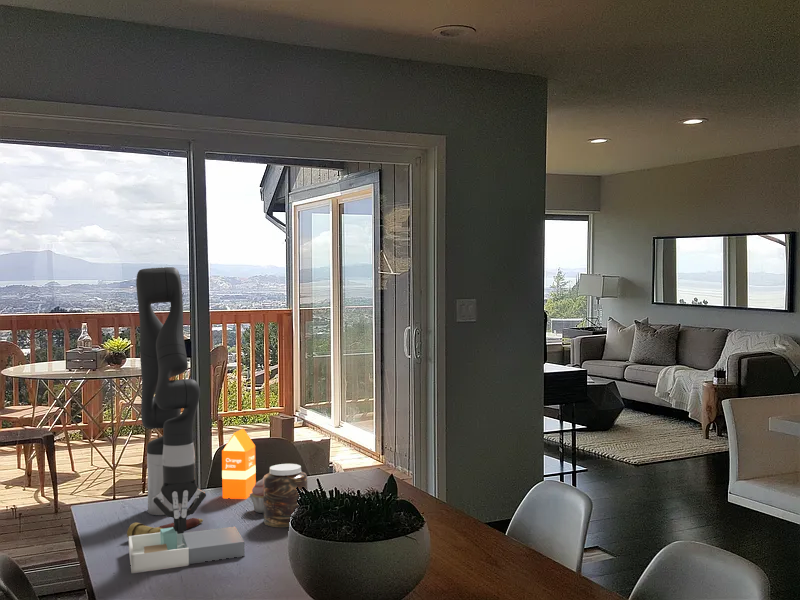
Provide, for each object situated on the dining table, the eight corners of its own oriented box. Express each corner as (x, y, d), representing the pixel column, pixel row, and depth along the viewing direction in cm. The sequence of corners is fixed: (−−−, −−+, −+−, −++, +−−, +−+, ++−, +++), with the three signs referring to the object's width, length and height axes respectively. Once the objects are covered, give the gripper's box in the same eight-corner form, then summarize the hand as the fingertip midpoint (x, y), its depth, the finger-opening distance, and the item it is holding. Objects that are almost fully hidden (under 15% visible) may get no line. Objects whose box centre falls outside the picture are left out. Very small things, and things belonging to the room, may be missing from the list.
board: (182, 546, 190) (182, 532, 190) (235, 540, 195) (235, 526, 195) (188, 564, 178) (188, 549, 178) (244, 556, 183) (244, 541, 183)
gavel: (189, 509, 213) (215, 514, 207) (189, 526, 212) (215, 531, 207) (126, 524, 195) (153, 530, 190) (126, 542, 195) (152, 549, 189)
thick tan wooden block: (166, 543, 181) (166, 556, 181) (144, 546, 180) (144, 559, 180) (167, 550, 177) (167, 563, 177) (144, 553, 175) (145, 566, 175)
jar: (290, 512, 218) (290, 460, 218) (316, 521, 210) (315, 466, 210) (255, 521, 210) (255, 467, 210) (280, 531, 202) (280, 474, 202)
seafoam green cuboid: (173, 547, 188) (161, 549, 186) (173, 527, 188) (160, 529, 186) (177, 553, 183) (164, 555, 182) (176, 532, 183) (163, 535, 182)
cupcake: (265, 504, 228) (265, 470, 228) (288, 509, 222) (288, 474, 222) (242, 511, 220) (241, 476, 220) (265, 517, 215) (264, 481, 215)
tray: (128, 552, 186) (128, 536, 186) (182, 545, 191) (181, 529, 191) (131, 573, 172) (131, 555, 172) (188, 565, 177) (188, 548, 177)
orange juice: (222, 498, 235) (221, 433, 234) (233, 490, 243) (232, 428, 243) (246, 499, 233) (245, 433, 233) (256, 491, 242) (255, 428, 242)
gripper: (204, 456, 193) (205, 524, 193) (149, 461, 188) (150, 531, 188) (208, 462, 186) (210, 533, 186) (151, 467, 181) (152, 540, 181)
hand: (180, 532), depth 187 cm, fingers closed
